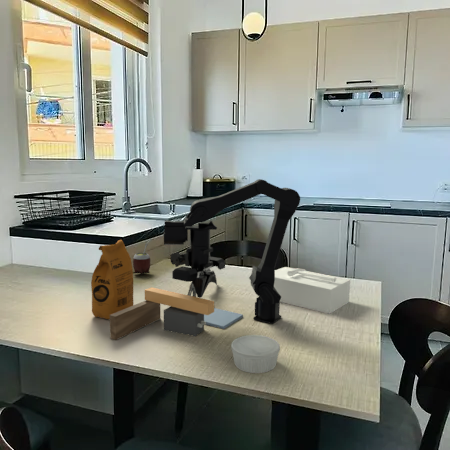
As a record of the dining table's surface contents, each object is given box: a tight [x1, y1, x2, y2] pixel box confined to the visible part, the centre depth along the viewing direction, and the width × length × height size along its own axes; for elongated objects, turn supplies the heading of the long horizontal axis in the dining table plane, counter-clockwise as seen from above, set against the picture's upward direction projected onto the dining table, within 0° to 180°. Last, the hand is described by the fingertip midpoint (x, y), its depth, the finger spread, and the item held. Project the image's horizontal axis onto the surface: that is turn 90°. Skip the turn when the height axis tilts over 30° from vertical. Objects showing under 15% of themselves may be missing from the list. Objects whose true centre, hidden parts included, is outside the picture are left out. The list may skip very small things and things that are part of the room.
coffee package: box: [90, 239, 134, 321], centre depth 130 cm, size 10×12×22 cm
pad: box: [204, 307, 244, 330], centre depth 128 cm, size 14×11×1 cm
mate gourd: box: [132, 238, 152, 276], centre depth 176 cm, size 8×8×15 cm
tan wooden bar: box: [144, 286, 215, 315], centre depth 119 cm, size 22×3×3 cm, turn 58°
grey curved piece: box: [186, 270, 218, 297], centre depth 148 cm, size 28×2×10 cm, turn 162°
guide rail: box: [109, 300, 161, 341], centre depth 120 cm, size 2×18×6 cm, turn 148°
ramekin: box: [230, 334, 281, 374], centre depth 100 cm, size 11×11×5 cm
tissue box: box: [274, 266, 351, 314], centre depth 145 cm, size 14×25×11 cm, turn 51°
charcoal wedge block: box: [163, 306, 207, 337], centre depth 119 cm, size 11×5×6 cm, turn 65°
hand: (199, 297), depth 125 cm, fingers closed
